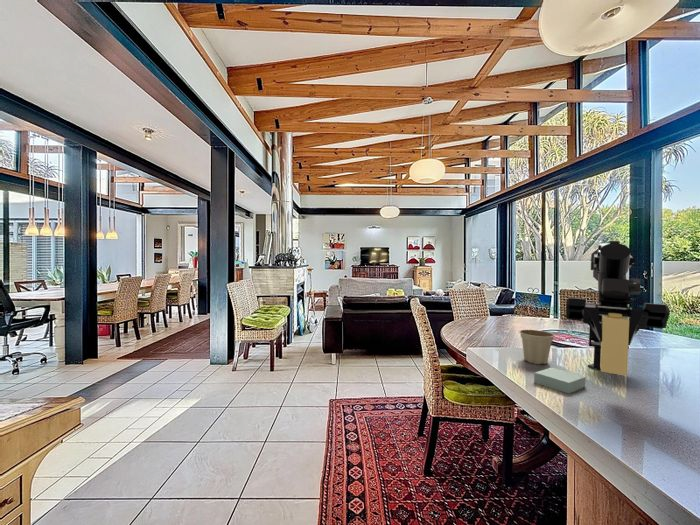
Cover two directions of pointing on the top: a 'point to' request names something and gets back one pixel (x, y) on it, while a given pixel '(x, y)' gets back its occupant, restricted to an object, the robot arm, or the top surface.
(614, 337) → the tower brick
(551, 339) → the flower pot
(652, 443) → the top surface
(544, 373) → the plinth brick
